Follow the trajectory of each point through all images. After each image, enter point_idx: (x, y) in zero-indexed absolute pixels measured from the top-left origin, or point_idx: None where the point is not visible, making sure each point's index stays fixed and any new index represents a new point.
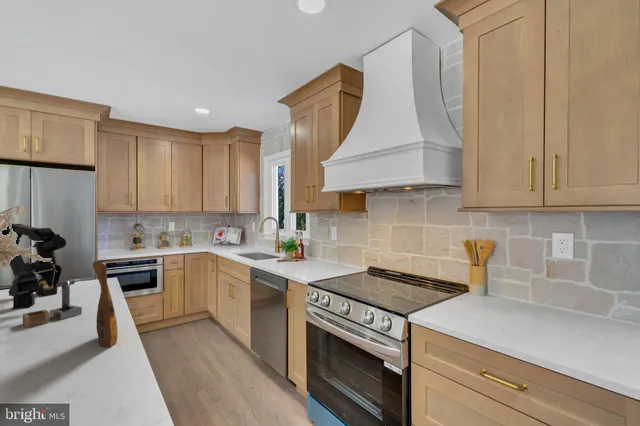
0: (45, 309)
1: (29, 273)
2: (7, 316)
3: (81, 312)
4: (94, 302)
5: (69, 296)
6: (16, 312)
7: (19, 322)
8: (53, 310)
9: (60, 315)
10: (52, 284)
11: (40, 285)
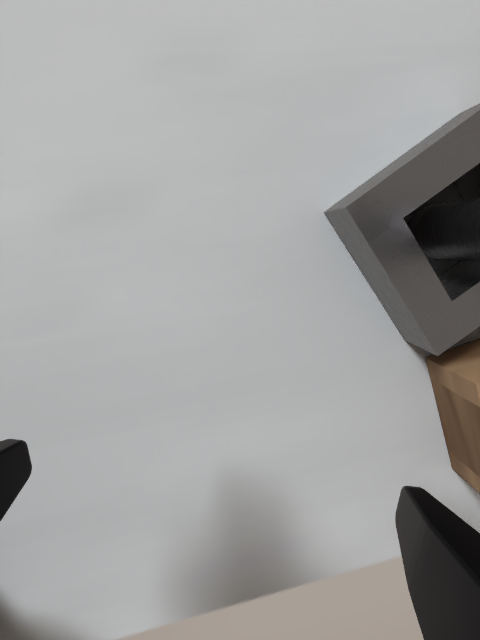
0: (476, 384)
1: None
2: (188, 609)
3: (469, 110)
4: (61, 16)
5: None
6: (95, 591)
7: None
8: (460, 324)
9: None
10: (431, 502)
11: None
